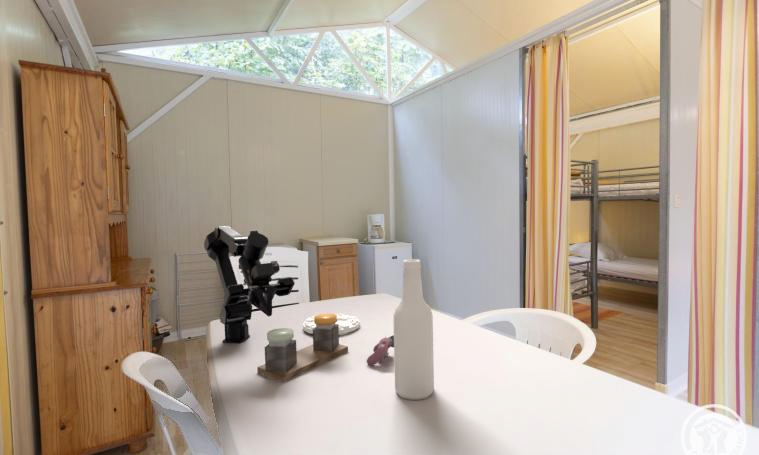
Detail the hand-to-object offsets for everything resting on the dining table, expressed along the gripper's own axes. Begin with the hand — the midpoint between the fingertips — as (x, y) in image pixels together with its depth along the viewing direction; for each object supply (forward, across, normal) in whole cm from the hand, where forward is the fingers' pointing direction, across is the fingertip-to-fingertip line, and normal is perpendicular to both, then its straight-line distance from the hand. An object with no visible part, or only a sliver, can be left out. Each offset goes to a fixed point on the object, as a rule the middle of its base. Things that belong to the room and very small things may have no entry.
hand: (270, 315), depth 103 cm
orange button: (+9, +16, +6) cm, 19 cm away
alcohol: (+36, +18, -16) cm, 43 cm away
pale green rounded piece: (+12, 0, +3) cm, 12 cm away
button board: (+12, +8, +7) cm, 16 cm away
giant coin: (-2, +30, +22) cm, 37 cm away
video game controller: (+22, +24, -2) cm, 33 cm away
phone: (+16, +40, +4) cm, 43 cm away
